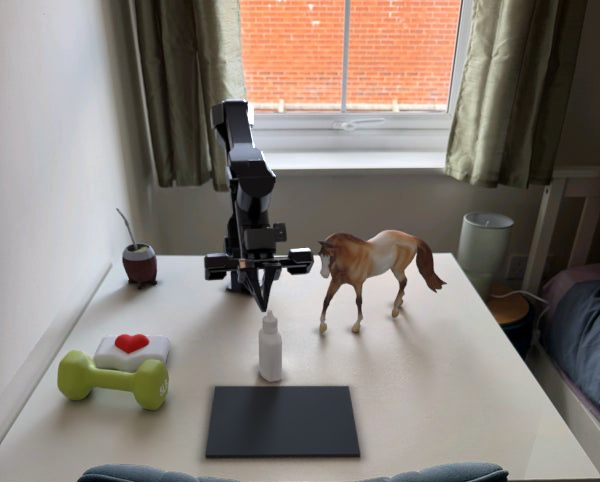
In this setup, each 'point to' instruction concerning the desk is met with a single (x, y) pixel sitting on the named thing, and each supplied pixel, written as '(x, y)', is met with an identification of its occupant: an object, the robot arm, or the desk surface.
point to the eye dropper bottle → (270, 349)
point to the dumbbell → (113, 379)
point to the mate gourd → (139, 261)
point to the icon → (130, 351)
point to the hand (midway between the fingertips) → (264, 311)
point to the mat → (282, 422)
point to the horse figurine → (373, 265)
